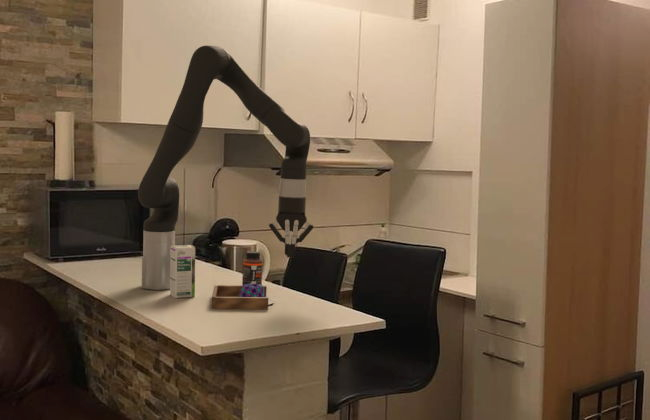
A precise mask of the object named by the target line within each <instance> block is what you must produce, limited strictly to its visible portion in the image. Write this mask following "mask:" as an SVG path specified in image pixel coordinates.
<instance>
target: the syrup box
mask: <svg viewBox="0 0 650 420" xmlns="http://www.w3.org/2000/svg"><path fill="white" fill-rule="evenodd" d="M195 282H196V246H194V245H192V244H183V245H182V244H180V245H179V244H178V245H176V244H175V245H173V246H170V289H169V294H170V295H171V296H172V298H174V299H180V298H195V296H196V290H195V289H196V288H195V287H196V283H195Z"/></svg>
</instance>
